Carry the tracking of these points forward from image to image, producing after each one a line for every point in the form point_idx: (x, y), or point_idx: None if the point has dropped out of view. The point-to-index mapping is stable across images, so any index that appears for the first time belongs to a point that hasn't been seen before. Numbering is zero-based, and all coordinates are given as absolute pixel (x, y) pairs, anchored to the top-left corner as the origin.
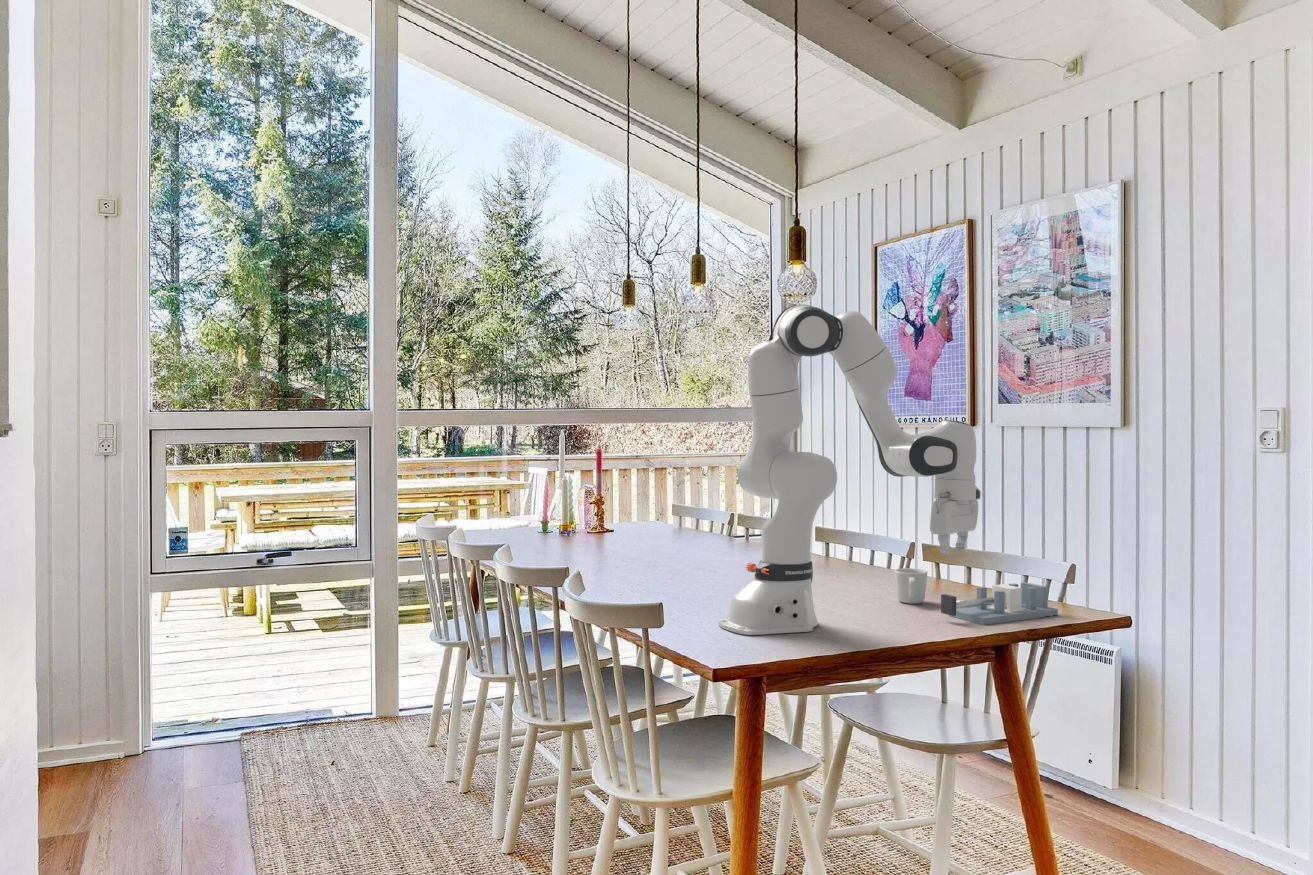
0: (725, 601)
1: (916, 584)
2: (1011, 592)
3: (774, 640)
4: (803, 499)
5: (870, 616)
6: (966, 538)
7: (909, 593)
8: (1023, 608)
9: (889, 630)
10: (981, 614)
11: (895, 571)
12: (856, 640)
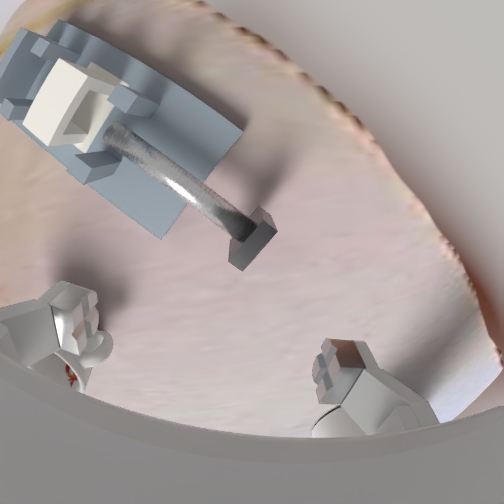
0: None
1: None
2: (89, 75)
3: (435, 392)
4: None
5: (257, 369)
6: (8, 311)
7: (100, 343)
8: None
9: (372, 314)
10: (189, 145)
11: None
12: (439, 330)
